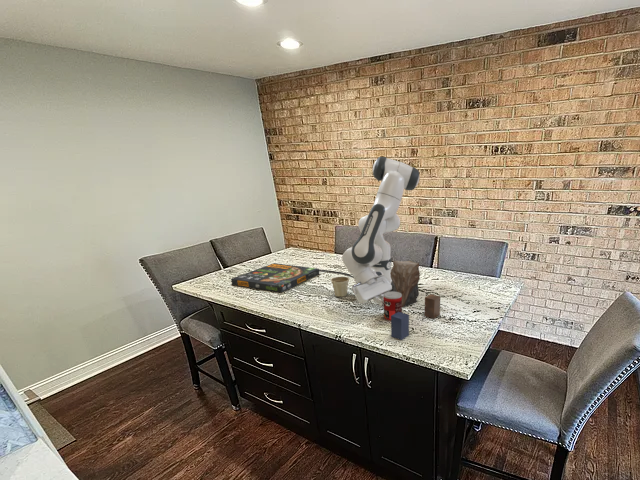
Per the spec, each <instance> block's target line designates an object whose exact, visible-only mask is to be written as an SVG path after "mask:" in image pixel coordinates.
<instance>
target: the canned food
mask: <svg viewBox="0 0 640 480" xmlns="http://www.w3.org/2000/svg"><path fill="white" fill-rule="evenodd" d="M383 295H384V296H383V297H384V298H383V299H384V305H383V317H384V320H387V321H390V322H391V316H392V315H394V314H395V313H397V312H401V313H403V307H402V294H401V293H399V292H393V291H392V292H386V293H384V294H383Z"/></svg>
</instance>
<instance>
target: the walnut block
mask: <svg viewBox="0 0 640 480" xmlns="http://www.w3.org/2000/svg"><path fill="white" fill-rule="evenodd" d="M439 316H441V296H440V295H436V294H432V293H430V294H429V295H426V296H425V297H424V317H426V318H429V319H433V320H435V319H436V318H438V317H439Z"/></svg>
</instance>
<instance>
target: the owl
mask: <svg viewBox="0 0 640 480" xmlns="http://www.w3.org/2000/svg"><path fill="white" fill-rule="evenodd" d="M392 264H393V265H392V266H391V273H390V274H391V276H390V277H391V279H392V282H391V285H392V289H391V291H389V292H392V291H393V292H399V293H401V294H402V308H405V307H407V306H409V305H412V304H414V303H416V302H417V301H418V300H417V299H418V297H419V295H420V292H419V281H420V279H421V277H420V276H421V271H420V269H419V268H420V262H415V261H412V260H406V261H405V260H402V261H400V260H393V261H392Z"/></svg>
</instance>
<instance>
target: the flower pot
mask: <svg viewBox="0 0 640 480" xmlns="http://www.w3.org/2000/svg"><path fill="white" fill-rule="evenodd" d="M349 281H350V278H349V276H334V277H332V278H330V282H331V284H332V287H333V292H334V296H335V297H336V298H337V297H342V298H343V297H347V295H348V289H349V288H348V287H349Z"/></svg>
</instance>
